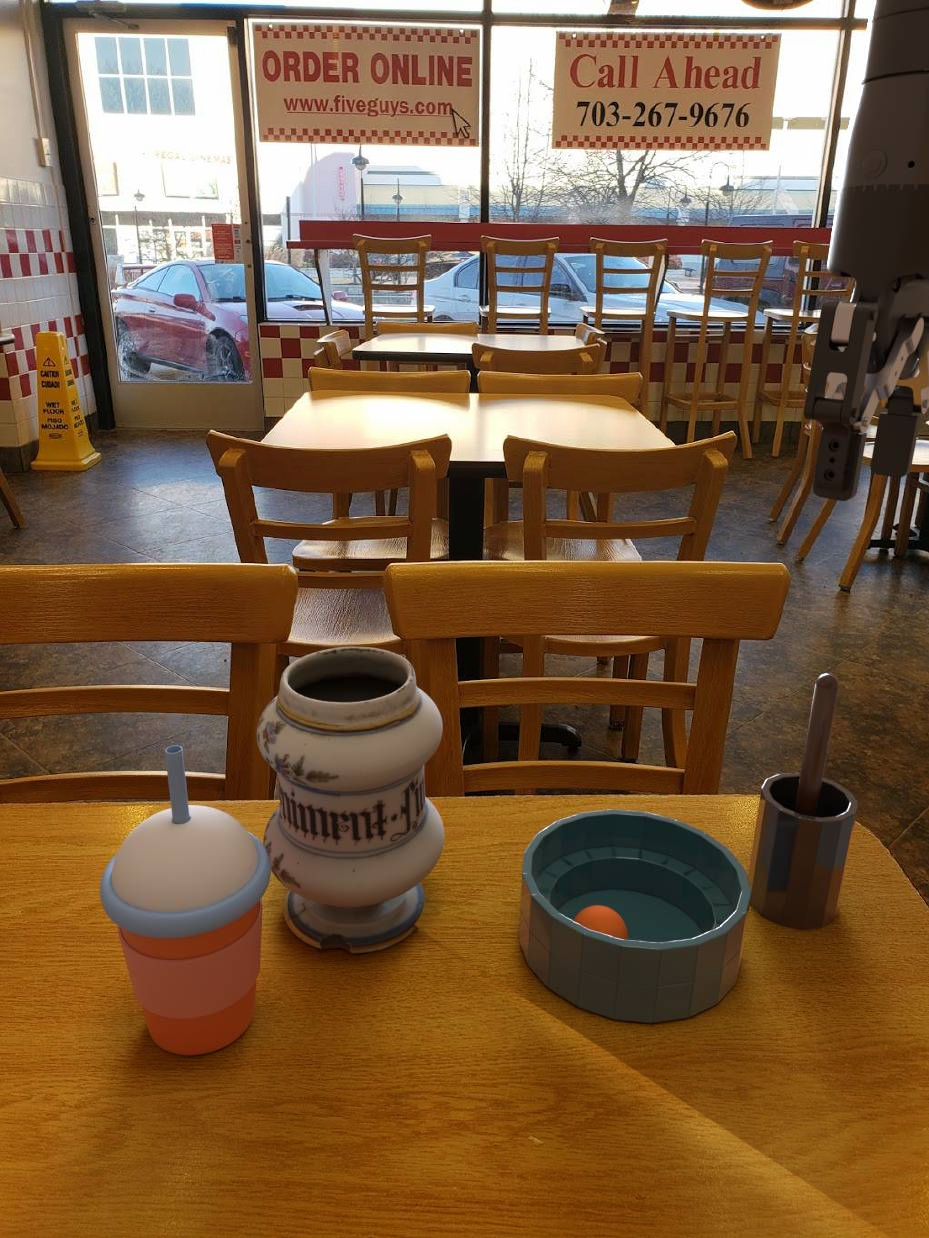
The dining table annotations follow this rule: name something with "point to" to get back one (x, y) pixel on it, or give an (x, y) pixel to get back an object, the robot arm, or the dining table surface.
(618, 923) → the ball
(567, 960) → the bowl
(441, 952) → the dining table surface
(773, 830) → the holder
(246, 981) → the cup with straw
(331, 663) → the apothecary jar
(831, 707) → the stirring stick
